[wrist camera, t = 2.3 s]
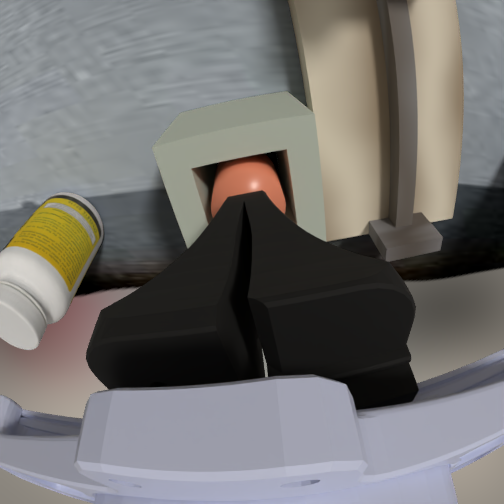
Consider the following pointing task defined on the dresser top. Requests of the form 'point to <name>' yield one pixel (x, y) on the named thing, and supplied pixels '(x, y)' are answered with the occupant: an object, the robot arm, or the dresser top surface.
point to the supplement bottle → (46, 267)
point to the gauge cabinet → (242, 145)
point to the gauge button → (246, 180)
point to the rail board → (384, 116)
